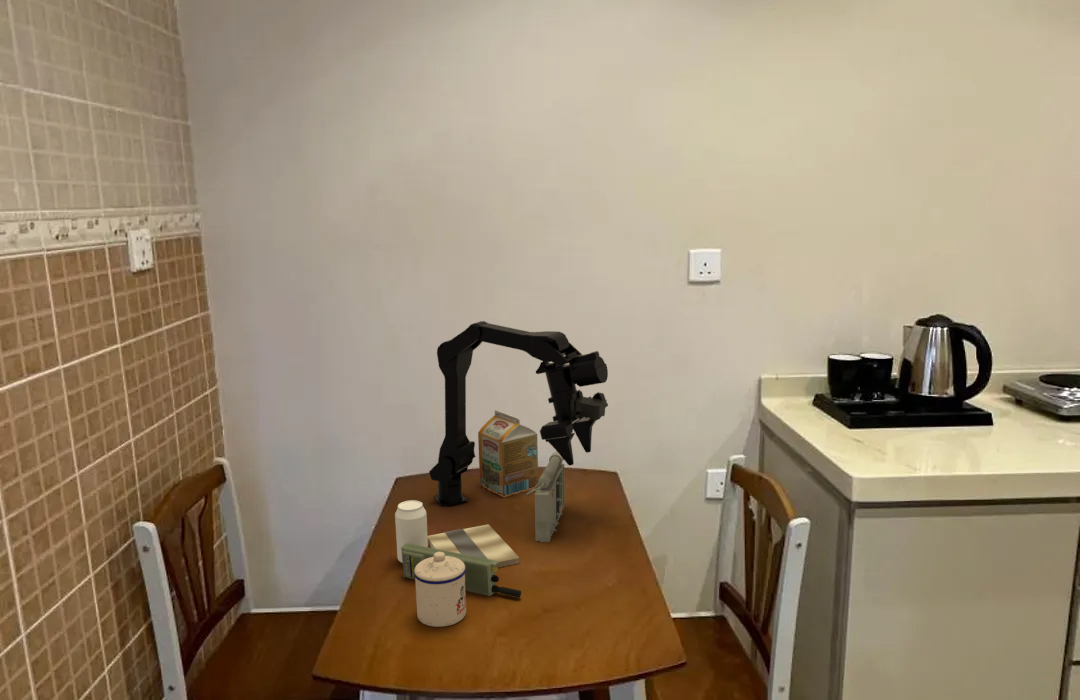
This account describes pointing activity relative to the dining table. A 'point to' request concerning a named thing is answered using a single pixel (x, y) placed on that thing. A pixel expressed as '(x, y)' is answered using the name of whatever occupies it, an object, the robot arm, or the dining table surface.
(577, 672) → the dining table surface
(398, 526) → the beverage can
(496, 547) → the subfloor board
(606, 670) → the dining table surface
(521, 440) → the milk carton
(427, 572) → the teacup with lid
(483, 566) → the handheld radio
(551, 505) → the geiger counter
